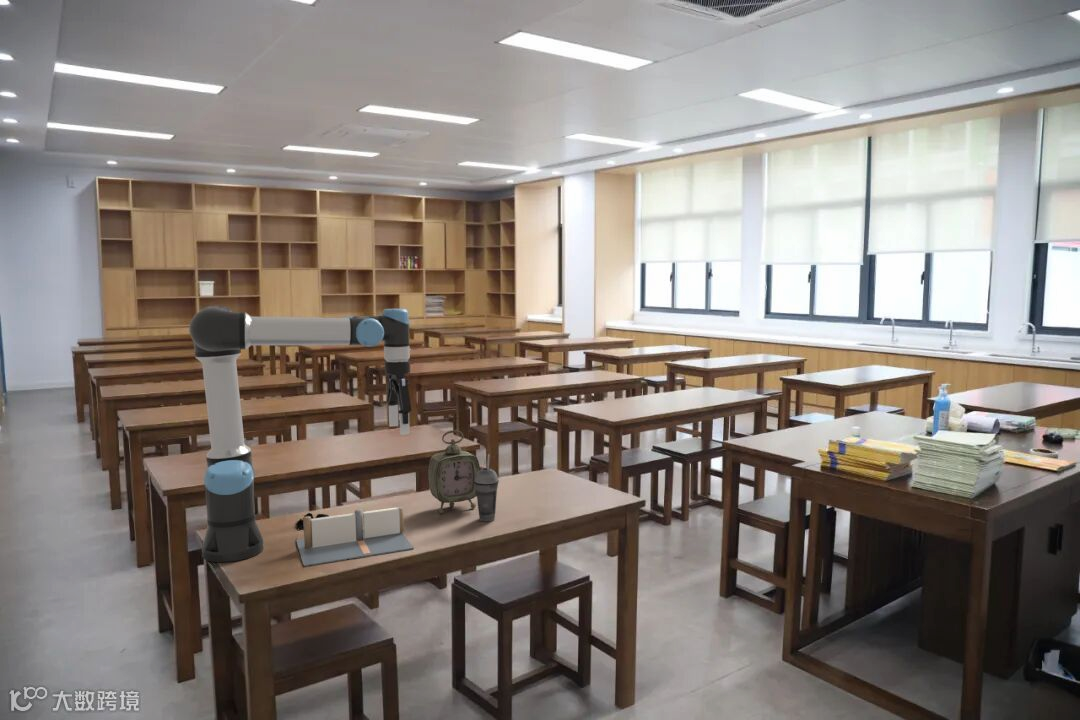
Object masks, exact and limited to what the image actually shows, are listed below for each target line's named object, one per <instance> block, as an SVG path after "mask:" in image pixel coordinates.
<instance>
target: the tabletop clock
mask: <svg viewBox="0 0 1080 720" xmlns="http://www.w3.org/2000/svg"><path fill="white" fill-rule="evenodd" d="M453 433H454V434H455V433H457V434H460V435H461V438H460V439H459V440H455V439H451V440H450V441H446V440H445V439H444V438H445V437H446V435H448V434H449V435H450V434H453ZM463 440H464V434H463V432H462V431H459V430H448V431H446V432H445V433H444V434H443V435H442V436H441V441H442V442H443V443H444V444H445V445H446V444H447V445H448V446H446V447H445V450H444V451H443V452H439V453H436V454H433V455H432V456H431V457H430V459H429V462H428V473H427V475H428V476H427V477H428V487H429V490H430V493H431V495H432V497H434V499H436V500H437V501H439V502H440V503H441V504H440V507H439V508H438V509H437V512H438V513H439V514H443V513H444V509H443V507H444V504H449V507H450V508H454V507H455V503H459V502H460V503H461V502H464V501H468V502H469V503H470V508H471V509H475V508H476V506H477V505H476V503H474V502H473V501H472V499H474V498H476V497H477V492H476V488H475V483H474V482H475V477H476V474H477V473H478V472H479V471H480V470H481V467H480V462H479V460H478V457H477V456H476V455H474V454H473V453H470V452H468V451H466V450H462V449H461V447H460V446H459V445H458V444H459V443H460V442H462V441H463Z"/></svg>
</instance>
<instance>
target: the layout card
mask: <svg viewBox="0 0 1080 720" xmlns="http://www.w3.org/2000/svg"><path fill="white" fill-rule="evenodd" d="M295 541H296V542H295V543H296V545H297V549H298V552H299V555H301V556H300V559H301V562H302V565H304V566H305V567H310V566H309V565H312V566H317V564H318V565H324V564H329V563H337V562H343V561H348V560H347V559H349V560H354V559H353V558H356V559H360V557H362V558H369V557H373V556H380V555H386V554H392V553H399V552H404V551H411V550H414V547H413V545H412V544H411V543H410V541H409V540H408V539H407V537H406V535H405V534H404V532H403V533H397V534H390V535H383V536H377V537H370V538H364V531H363V540H361V541H357V540H356V541H350V542H344V543H337V544H330V545H324V546H317V547H311V548H305V546H304V537H302V538H297V539H295ZM342 560H343V561H342ZM336 561H337V562H336ZM304 566H303V567H304Z"/></svg>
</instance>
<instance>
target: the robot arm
mask: <svg viewBox="0 0 1080 720" xmlns="http://www.w3.org/2000/svg"><path fill="white" fill-rule="evenodd" d="M409 317H410V316H409V311H408V309H405V308H384V309H383V311H382V315H376V316H375V315H360V316H359V315H358V316H356V315H351V316H344V317H309V316H308V317H306V316H305V317H302V316H301V317H299V316H296V317H295V316H251V315H250V314H248V313H247V312H238V311H232V310H231V309H228V308H227V307H224V306H221V305H211V306H206V307H204V308H201V309H200V310H199V311H198V312H197V313H195V314H194V315H193V317H192V319H191V320H190V323H189V326H188V329H189V335H190V338H191V340H192V342H193V349H194V356H195V359H196V360H198V362H200V363H201V364H202V365H201V366H202V373H203V374H202V376H203V383H204V391H205V393H204V394H205V401H206V410H207V411H206V412H207V419H208V420H207V421H208V428H209V429H208V430H209V438H210V439H209V440H210V446H211V448H210V450H209V451H208V452H207V453H206V455H205V457H206V467H207V468H206V470H205V472H204V477H203V478H204V479H203V485H204V486H205V487H204V490H205V503H206V518H207V522H206V523H207V528H206V532H205V534H204V539H203V542H202V546H201V557H202V559H203V560H205V561H207V562H212V563H231V562H237V561H241V560H242V561H243V560H246V559H248V558H249V559H250V558H251V557H254V556H256V555H258V554H260V553H262V552H263V550H264V547H265V544H264V538H263V535H262V533H261V531H260V529H259V526H258V523H257V521H256V514H255V513H256V511H255V510H256V508H255V492H254V491H255V490H254V488H255V487H254V485H255V484H254V481H255V474H256V473H255V468H254V466H253V456H252V449H251V447H249V446H248V445H246V443H245V436H244V427H243V426H244V425H243V415H242V406H241V405H242V404H241V396H240V388H239V387H240V386H239V385H240V384H239V376H238V369H237V367H238V366H237V359H238V358H239V357H240V356H241V355H242V350H248V349H249V348H250V347H252V346H364V347H369V348H370V347H376V346H377V345H379V344H380V343H382V342H383V359H384V360H385V362H384V373H385V374H386V375H387V376H388V382H387V391H386V392H387V394H386V402H387V405H388V423H389V425H388V426H389V428H391V427H399V434H400V436H404V435H405V436H406V435H410V434H411V433H410V432H411V431H410V430H411V429H410V428H411V427H410V412H412V405H411V397H410V390H409V380H408V378H405V375H407V374H410V373H411V361H410V360H409V359H410V357H411V353H412V349H411V347H410V318H409Z"/></svg>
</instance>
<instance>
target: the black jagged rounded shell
mask: <svg viewBox="0 0 1080 720" xmlns="http://www.w3.org/2000/svg"><path fill="white" fill-rule="evenodd" d="M306 516H310V517H311V519H314V518H322V517H329V514H324V513H318V514H317V515H316V516H314V515H313V513H310V512H308V513H306V514H305V515H303V517H306ZM295 527H296V530H297V531H304V525H303V518H299V520H297V521H296V523H295ZM298 529H299V530H298Z"/></svg>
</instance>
